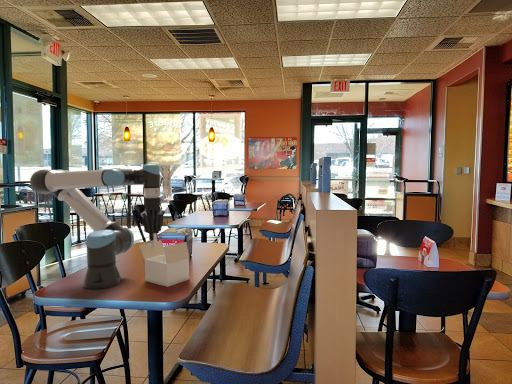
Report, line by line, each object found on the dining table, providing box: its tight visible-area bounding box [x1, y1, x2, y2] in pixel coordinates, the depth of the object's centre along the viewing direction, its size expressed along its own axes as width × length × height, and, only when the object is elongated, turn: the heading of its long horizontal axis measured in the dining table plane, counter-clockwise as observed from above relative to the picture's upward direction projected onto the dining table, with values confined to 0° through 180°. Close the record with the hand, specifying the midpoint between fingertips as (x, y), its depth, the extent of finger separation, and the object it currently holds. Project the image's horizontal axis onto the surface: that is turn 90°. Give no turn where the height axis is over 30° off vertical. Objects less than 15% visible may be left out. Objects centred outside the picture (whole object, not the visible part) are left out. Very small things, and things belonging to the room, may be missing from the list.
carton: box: [144, 254, 190, 288], centre depth 163 cm, size 13×15×10 cm
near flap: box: [164, 241, 191, 264], centre depth 159 cm, size 13×8×1 cm
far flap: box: [137, 239, 165, 261], centre depth 169 cm, size 13×8×1 cm
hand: (153, 246), depth 168 cm, fingers closed
